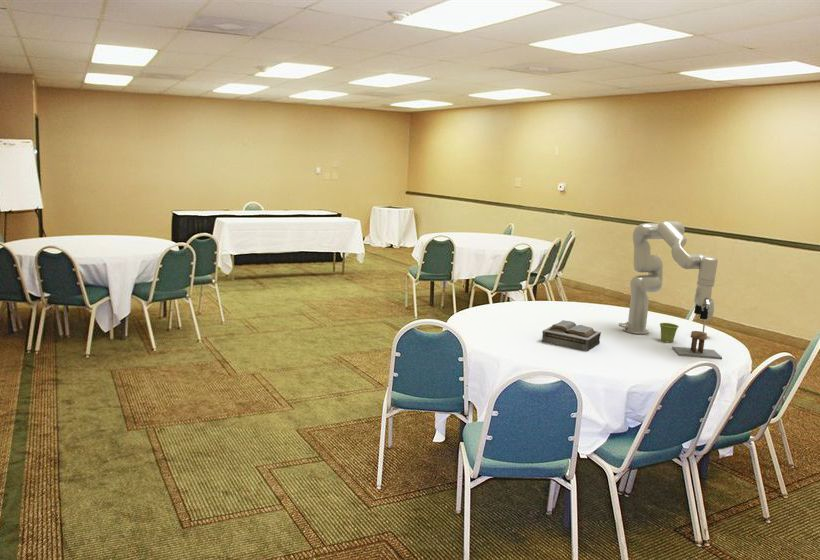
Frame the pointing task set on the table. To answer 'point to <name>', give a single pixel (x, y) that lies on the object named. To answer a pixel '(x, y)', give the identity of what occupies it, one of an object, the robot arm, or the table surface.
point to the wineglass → (709, 314)
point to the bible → (571, 335)
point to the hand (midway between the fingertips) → (700, 316)
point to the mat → (687, 352)
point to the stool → (700, 336)
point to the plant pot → (668, 331)
